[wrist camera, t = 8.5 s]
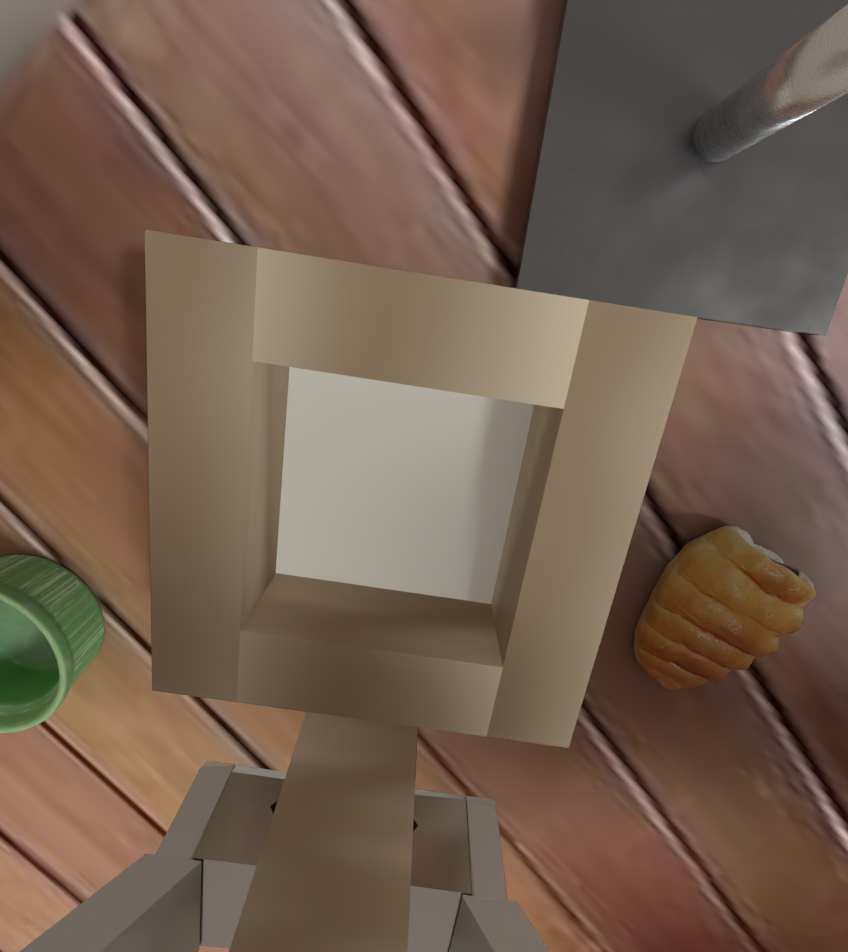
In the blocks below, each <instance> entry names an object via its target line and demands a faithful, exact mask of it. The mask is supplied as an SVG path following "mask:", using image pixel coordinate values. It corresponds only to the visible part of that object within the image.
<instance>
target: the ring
mask: <svg viewBox="0 0 848 952" xmlns="http://www.w3.org/2000/svg"><path fill="white" fill-rule="evenodd" d="M145 274H146V335H147V396H148V457H149V518H150V579H151V640H152V690H153V691H161V692H168V693H175V694H182V695H189V696H197V697H204V698H211V699H218V700H226V701H233V702H240V703H247V704H254V705H262V706H269V707H276V708H283V709H291V710H298V711H305V712H307V713H306V716H305V719H304V722H303V725H302V728H301V731H300V734H299V737H298V740H297V743H296V746H295V749H294V753H293V756H292V759H291V762H290V765H289V768H288V771H287V774H286V777H285V780H284V783H283V786H282V789H281V792H280V796H279V799H278V802H277V805H276V808H275V811H274V814H273V817H272V820H271V823H270V826H269V829H268V832H267V836H266V839H265V842H264V845H263V848H262V851H261V854H260V857H259V860H258V863H257V866H256V869H255V872H254V875H253V879H252V882H251V885H250V888H249V891H248V894H247V897H246V900H245V903H244V906H243V909H242V912H241V915H240V918H239V922H238V925H237V928H236V931H235V934H234V937H233V940H232V943H231V946H230V949H229V952H408V930H409V909H410V887H411V865H412V843H413V821H414V799H415V777H416V755H417V734H418V727H421V728H428V729H435V730H442V731H450V732H457V733H464V734H471V735H478V736H486V737H493V738H500V739H507V740H515V741H522V742H529V743H536V744H543V745H551V746H558V747H565V748H569V745H570V742H571V739H572V735H573V732H574V729H575V725H576V722H577V718H578V715H579V712H580V708H581V705H582V702H583V698H584V695H585V692H586V688H587V685H588V682H589V678H590V675H591V672H592V668H593V665H594V662H595V658H596V655H597V652H598V648H599V645H600V642H601V638H602V635H603V632H604V628H605V625H606V622H607V618H608V615H609V612H610V608H611V605H612V602H613V598H614V595H615V592H616V588H617V585H618V582H619V578H620V575H621V572H622V568H623V565H624V562H625V558H626V555H627V552H628V548H629V545H630V542H631V538H632V535H633V532H634V528H635V525H636V522H637V518H638V515H639V512H640V508H641V505H642V502H643V498H644V495H645V492H646V488H647V485H648V481H649V478H650V475H651V471H652V468H653V465H654V461H655V458H656V455H657V451H658V448H659V445H660V441H661V438H662V435H663V431H664V428H665V425H666V421H667V418H668V415H669V411H670V408H671V405H672V401H673V398H674V395H675V391H676V388H677V385H678V381H679V378H680V375H681V371H682V368H683V365H684V361H685V358H686V355H687V351H688V348H689V345H690V341H691V338H692V335H693V331H694V328H695V325H696V321H697V318H698V317H693V316H686V315H680V314H674V313H667V312H661V311H655V310H649V309H642V308H636V307H630V306H623V305H617V304H611V303H604V302H598V301H592V300H586V299H579V298H573V297H567V296H560V295H554V294H548V293H541V292H535V291H529V290H523V289H516V288H510V287H504V286H497V285H491V284H485V283H478V282H472V281H466V280H460V279H453V278H447V277H441V276H434V275H428V274H422V273H415V272H409V271H403V270H396V269H390V268H384V267H378V266H371V265H365V264H359V263H352V262H346V261H340V260H333V259H327V258H321V257H315V256H308V255H302V254H296V253H289V252H283V251H277V250H270V249H264V248H258V247H252V246H245V245H239V244H233V243H226V242H220V241H214V240H207V239H201V238H195V237H189V236H182V235H176V234H170V233H163V232H157V231H151V230H145ZM289 367H294V368H300V369H307V370H313V371H320V372H326V373H333V374H339V375H346V376H352V377H359V378H365V379H372V380H378V381H385V382H391V383H398V384H404V385H411V386H417V387H424V388H430V389H437V390H443V391H450V392H456V393H463V394H469V395H476V396H482V397H489V398H495V399H502V400H509V401H515V402H522V403H528V404H534V408H533V413H532V417H531V422H530V427H529V431H528V436H527V441H526V445H525V450H524V454H523V459H522V464H521V468H520V473H519V477H518V482H517V487H516V491H515V496H514V501H513V505H512V510H511V514H510V519H509V524H508V528H507V533H506V537H505V542H504V547H503V551H502V556H501V560H500V565H499V570H498V574H497V579H496V584H495V588H494V593H493V597H492V602H491V604H487V603H480V602H473V601H467V600H460V599H453V598H446V597H439V596H432V595H425V594H418V593H411V592H404V591H397V590H390V589H383V588H376V587H370V586H363V585H356V584H349V583H342V582H335V581H328V580H321V579H314V578H307V577H300V576H293V575H286V574H279V573H276V560H277V545H278V530H279V515H280V500H281V486H282V471H283V456H284V441H285V427H286V412H287V397H288V382H289Z"/></svg>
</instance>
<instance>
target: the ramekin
mask: <svg viewBox="0 0 848 952" xmlns="http://www.w3.org/2000/svg"><path fill="white" fill-rule="evenodd" d="M104 631H105V627H104V618H103V614H102V611H101V609H100V606H99V604H98V602H97V600H96V598H95V596H94V595H93V593H92V592H91V591H90V589H89V588H88V587H87V586H86V585H85V584H84V582H83V581H82V580H80V579H79V578H78V577H77V576H76V575H75V574H73V573H72V572H71V571H69V570H68V569H66V568H64V567H62V566H61V565H59V564H57V563H55V562H52V561H50V560H47V559H44V558H41V557H37V556H31V555H18V554H16V555H8V556H3V557H0V733H10V732H16V731H22V730H25V729H28V728H31V727H33V726H35V725H37V724H39V723H41V722H43V721H44V720H46V719H47V718H48V717H49V716H51V715H52V714H53V713H54V712H55V711H56V709H57V708H58V707H59V706H60V704H61V703H62V701H63V700H64V698H65V697H66V695H67V693H68V690H69V688H70V687H71V686H72V685H73V684H74V682H75V681H76V680H77V679H78V677H79V676H80V675H81V674H82V673H83V671H84V670H85V669H86V668H87V667H88V665H89V664H90V663H91V662H92V660H93V659H94V658H95V656H96V655H97V653H98V651H99V649H100V647H101V644H102V641H103V638H104Z"/></svg>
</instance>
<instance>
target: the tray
mask: <svg viewBox="0 0 848 952" xmlns="http://www.w3.org/2000/svg"><path fill="white" fill-rule="evenodd" d="M533 408H534V404H528V403H522V402H515V401H509V400H502V399H495V398H489V397H482V396H476V395H469V394H463V393H456V392H450V391H443V390H437V389H430V388H424V387H417V386H411V385H404V384H398V383H391V382H385V381H378V380H372V379H365V378H359V377H352V376H346V375H339V374H333V373H326V372H320V371H313V370H307V369H300V368H294V367H289V382H288V397H287V412H286V427H285V441H284V456H283V471H282V486H281V500H280V515H279V530H278V545H277V560H276V573H279V574H286V575H293V576H300V577H307V578H314V579H321V580H328V581H335V582H342V583H349V584H356V585H363V586H370V587H376V588H383V589H390V590H397V591H404V592H411V593H418V594H425V595H432V596H439V597H446V598H453V599H460V600H467V601H473V602H480V603H487V604H491V602H492V597H493V593H494V588H495V584H496V579H497V574H498V570H499V565H500V560H501V556H502V551H503V547H504V542H505V537H506V533H507V528H508V524H509V519H510V514H511V510H512V505H513V501H514V496H515V491H516V487H517V482H518V477H519V473H520V468H521V464H522V459H523V454H524V450H525V445H526V441H527V436H528V431H529V427H530V422H531V417H532V413H533Z"/></svg>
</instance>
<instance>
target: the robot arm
mask: <svg viewBox="0 0 848 952" xmlns="http://www.w3.org/2000/svg"><path fill="white" fill-rule="evenodd" d="M286 774H287V773H285V772H279V771H273V770H266V769H260V768H254V767H248V766H242V765H234V764H228V763H221V762H215V761H208V760H207V762H206V763H205V764H204V765H203V766H202V767H201V768H200V770H199V772H198V774H197V776H196V778H195V780H194V781H193V783H192V785H191V787H190V789H189V791H188V793H187V795H186V797H185V799H184V801H183V803H182V805H181V806H180V808H179V810H178V812H177V814H176V816H175V818H174V820H173V822H172V824H171V826H170V828H169V830H168V831H167V833H166V835H165V837H164V839H163V841H162V843H161V845H160V847H159V849H158V851H157V853H156V855H154V854H145V855H144V856H142V857H141V858H140V859H139V860H137V861H136V862H135V863H133V864H132V865H131V866H130V867H128V868H127V869H126V870H124V871H123V872H122V873H121V874H119V875H118V876H117V877H115V878H114V879H113V880H111V881H110V882H109V883H108V884H106V885H105V886H104V887H102V888H101V889H100V890H99V891H97V892H96V893H95V894H93V895H92V896H91V897H90V898H88V899H87V900H86V901H84V902H83V903H82V904H81V905H79V906H78V907H77V908H75V909H74V910H73V911H71V912H70V913H69V914H68V915H66V916H65V917H64V918H62V919H61V920H60V921H59V922H57V923H56V924H55V925H53V926H52V927H51V928H50V929H48V930H47V931H46V932H44V933H43V934H42V935H41V936H39V937H38V938H37V939H35V940H34V941H33V942H32V943H30V944H29V945H28V946H26V947H25V948H24V949H22V950H21V951H20V952H198V951H199V946H209V947H220V948H230V946H231V943H232V940H233V937H234V934H235V931H236V928H237V925H238V922H239V918H240V915H241V912H242V909H243V906H244V903H245V900H246V897H247V894H248V891H249V888H250V885H251V882H252V879H253V875H254V872H255V869H256V866H257V863H258V860H259V857H260V854H261V851H262V848H263V845H264V842H265V839H266V836H267V832H268V829H269V826H270V823H271V820H272V817H273V814H274V811H275V808H276V805H277V802H278V799H279V796H280V792H281V789H282V786H283V783H284V780H285V777H286ZM408 952H550V951H549V950H548V948H547V947H546V945H545V944H544V942H543V941H542V939H541V938H540V936H539V935H538V933H537V931H536V930H535V928H534V927H533V925H532V924H531V922H530V921H529V919H528V918H527V916H526V915H525V913H524V912H523V910H522V909H521V907H520V906H519V904H518V903H517V902H514V901H508V897H507V889H506V881H505V873H504V865H503V857H502V849H501V842H500V834H499V826H498V818H497V810H496V804H495V802H494V801H493V799H487V798H479V797H472V796H464V795H460V794H452V793H443V792H435V791H427V790H418V789H415V799H414V821H413V843H412V865H411V887H410V909H409V930H408Z"/></svg>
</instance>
